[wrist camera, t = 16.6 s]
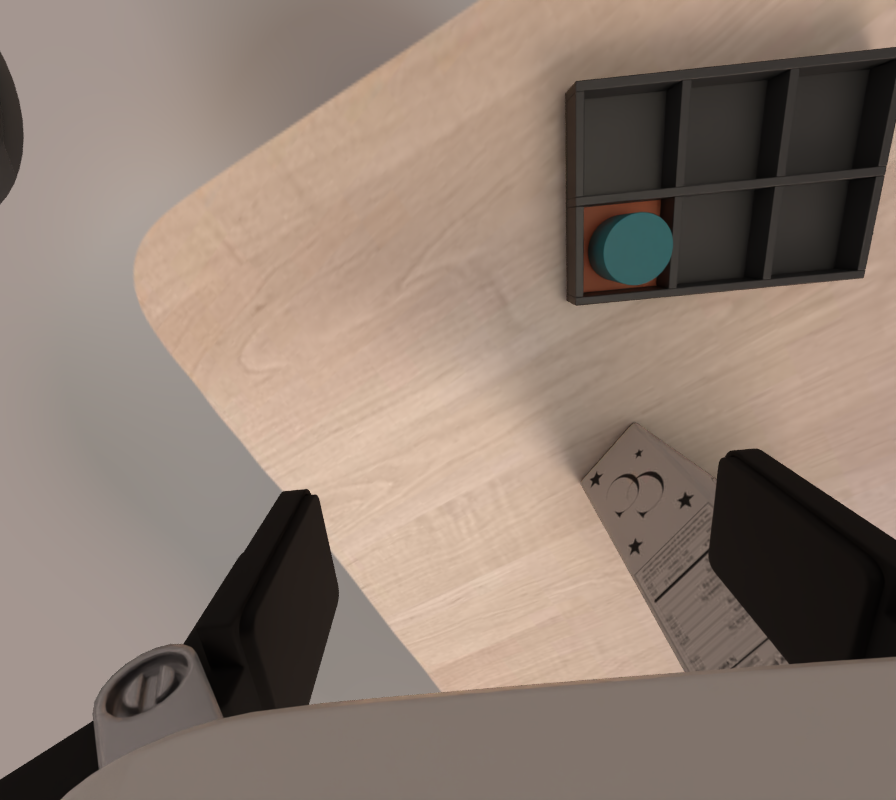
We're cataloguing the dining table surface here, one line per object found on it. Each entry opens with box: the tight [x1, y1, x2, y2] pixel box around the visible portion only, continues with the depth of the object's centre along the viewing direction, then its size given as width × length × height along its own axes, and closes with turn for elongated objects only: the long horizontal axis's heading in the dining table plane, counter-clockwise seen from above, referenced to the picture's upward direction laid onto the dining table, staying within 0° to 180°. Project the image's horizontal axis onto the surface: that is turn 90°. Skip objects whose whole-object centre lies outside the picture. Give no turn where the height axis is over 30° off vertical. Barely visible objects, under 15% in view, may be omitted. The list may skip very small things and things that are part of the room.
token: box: [588, 212, 673, 285], centre depth 33 cm, size 5×5×4 cm
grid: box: [565, 47, 896, 306], centre depth 33 cm, size 14×21×3 cm
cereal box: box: [581, 423, 789, 672], centre depth 32 cm, size 22×8×25 cm, turn 55°
